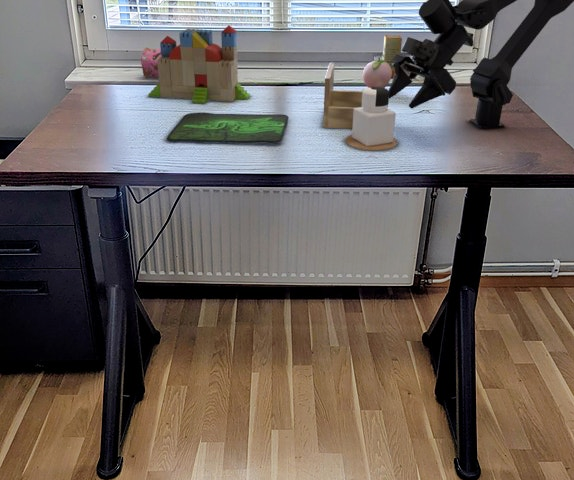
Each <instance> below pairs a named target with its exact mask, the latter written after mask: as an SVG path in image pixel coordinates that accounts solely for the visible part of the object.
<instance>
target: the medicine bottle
mask: <svg viewBox="0 0 574 480" xmlns="http://www.w3.org/2000/svg"><path fill="white" fill-rule="evenodd" d="M362 91H363V92H362V107H359V108H354V111H353V127H352V129H351V135H352V138H353V139H355V140H357V141H359V142H360V143H362V144H364V145H366V146H374V145H380V144H386V143H392V142H393V137H394V134H395V125H396V114H397V113H396V111H394V110H391V109H389V104H390V103H389V102H390V99H389V89H387V88H386V87H385V88H383V87H368V86H367V87H366V88H363V90H362Z"/></svg>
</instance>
